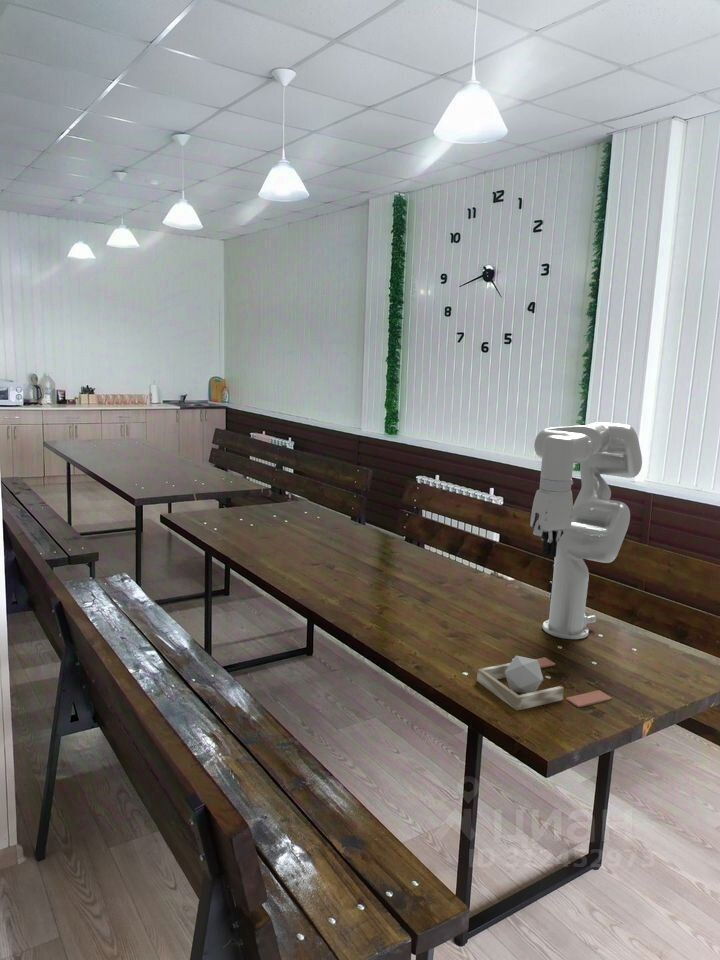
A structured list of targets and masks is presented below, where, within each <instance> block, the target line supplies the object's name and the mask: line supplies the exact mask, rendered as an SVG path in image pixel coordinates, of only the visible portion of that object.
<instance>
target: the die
mask: <svg viewBox="0 0 720 960" xmlns="http://www.w3.org/2000/svg"><path fill="white" fill-rule="evenodd" d="M535 659H536V658H529V657H525V656H519V655H515V656H514V658H513V659H512V660H511V661H510V662H509V663H510V665H509V666H508V668H507V669H506V671H505V675H506V681H507V684H508V688H509V689H511V690H512V691H514V692H515V693H516V694H520V695H522V694H526V693H531V692H535V691H538V689H539V686H540V685H541V684H542V682H543V681H544V676H543V673H542V668H540V666H539V662H538V660H535Z"/></svg>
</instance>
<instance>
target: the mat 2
mask: <svg viewBox="0 0 720 960" xmlns="http://www.w3.org/2000/svg"><path fill="white" fill-rule="evenodd" d="M612 699H613V698H612V697H611V696H610V695H608V694H606V693H605V692H603V691H602V690H600V689H598V690H594V691H589V692H585V693H581V694H576V695H572V696H569V697H568V696H567V697H565V700H566V701H568V702H569V703H571V704H572V705H574V706H576V707H577V708H582V707H586V706H591V705H594V704H598V703H604V702H607V701H611V700H612Z"/></svg>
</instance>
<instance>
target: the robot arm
mask: <svg viewBox="0 0 720 960" xmlns="http://www.w3.org/2000/svg"><path fill="white" fill-rule="evenodd" d="M534 451H535V454H536V455H537V456H538V457H539V458H541V467H540V480H539V489H537V490H536V491H535V495H534V498H533V501H532V507H531V514H530V522H529V523H530V527H531V528H533V532H532V534H533V535H535V536H538V537H540V538H541V541H543V544H542V556H544V557H547V558H549V559H552V558H553V559H554V561H553V562H554V563H553V574H552V576H553V577H552V585H551V595H550V602H549V603H550V605H549V614H548V615H549V616H548V619H547V620H545V621H543V623H542V629H543V631H544V633H547V634H549V635H550V636H553V637H556V638H561V639H566V640H581V639H585V638H587V637H588V636H589V635H590V633H589V632H590V630H589V628H588V627H587V625H588V624H590V623H591V624H592V623H595V622H597V617H596V615H594V614H593V615H588V616H587V615H586V606H587V605H586V604H587V595H588V587H589V577H590V572H589V568H588V566H587V564H586V562H585V560H588V561H594V562H597V563H598V562H599V563H606V564H609V563H612V562H613V561H615V559H616V558H617V557H618V554H619V553H620V552H619V551H620V549H621V547H622V544H623V542H624V539H625V536H626V534H627V531H628V529H629V525H630V520H631V511H630V508H629V506H628V505H627V504H626V503H624V502H622V501H619V500H612V499H611V497H612V491H611V488H610V486H609V484H608V483H607V481H606V480H605V479H604V478H603V477H602V476H601V475H605V476H611V477H612V476H613V477H620V478H628V479H630V478H635V477H637V476H638V475H639V474H640V472H641V470H642V467H643V456H642V450H641V446H640V441H639V438H638V434H637V432H636V430H635V428H634V427H632V426H631V425H630V424H624V423H614V422H603V421H594V422H590V423H588V424H585V425H572V426H555V427H548V428H544V429H542V430H541V431H540V432H538V434H537V435H536V437H535V440H534ZM574 464H580V465H579V468H580V469H579V471H580V473H579V474H580V481H581V488H580V490H579V492H578V495H577V497H576V499H575V500H574V499H573V492H572V485H573V484H574V480H573V479H572V478H573V470H574Z"/></svg>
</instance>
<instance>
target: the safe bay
mask: <svg viewBox="0 0 720 960" xmlns="http://www.w3.org/2000/svg"><path fill="white" fill-rule="evenodd" d="M510 663H511V662H508V663H503V664H497V665H492V666H488V667H482V668H478V669H477V675H476V676H477V677H476V682H478V683H479V684H480V685H481V686H483V687H484V688H485V689H487V690H488V691H490V693H492V694H494V695H495V696H497V698H499V699H500V700H502V701H503V702H504V703H506V704H507V705H508V706H510V707H511V708H513V709H514V710H515V711H517V712H518V711H521V710H526V709H530V708H534V707H539V706H542V705H543V706H544V705H547V704H553V703H555V702H561V701H563V700H564V689H565V688H564V687H563V686H562V685H558V686H555V687H550V688H545V689H541V690H536V691H535V692H531V693H526V694H519V693H517V692H514V691H512V690H511V689H510V688H509V686H507V685H506V684H504V683H502V682H501V681H499V680H500V679H505V678H506V675H505V671H506V669H507V668H508V666H509V665H510ZM506 679H507V678H506Z"/></svg>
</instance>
